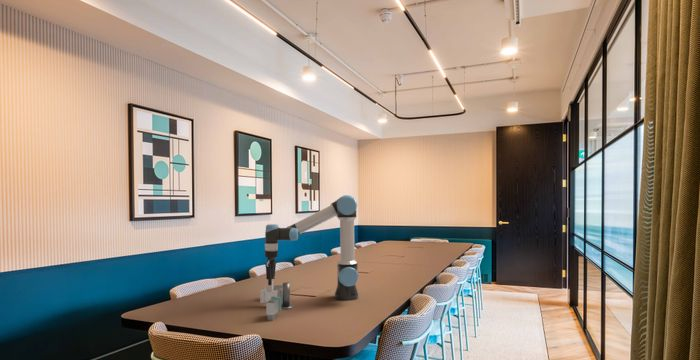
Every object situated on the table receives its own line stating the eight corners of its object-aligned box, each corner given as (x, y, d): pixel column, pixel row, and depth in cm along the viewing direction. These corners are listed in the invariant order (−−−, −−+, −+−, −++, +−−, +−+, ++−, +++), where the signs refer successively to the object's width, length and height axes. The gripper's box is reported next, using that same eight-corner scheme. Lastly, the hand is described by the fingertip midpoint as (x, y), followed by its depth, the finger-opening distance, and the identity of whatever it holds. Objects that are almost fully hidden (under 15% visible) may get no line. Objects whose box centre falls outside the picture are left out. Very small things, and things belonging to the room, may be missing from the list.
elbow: (283, 304, 236) (283, 288, 237) (280, 306, 231) (280, 290, 232) (263, 303, 238) (263, 288, 239) (260, 305, 233) (260, 289, 234)
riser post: (281, 305, 238) (281, 281, 238) (294, 306, 236) (295, 281, 237) (277, 309, 230) (277, 284, 231) (290, 309, 229) (290, 284, 229)
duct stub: (272, 315, 218) (272, 296, 219) (281, 315, 217) (281, 296, 218) (265, 320, 208) (265, 301, 208) (274, 321, 207) (274, 301, 208)
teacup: (286, 297, 258) (287, 284, 258) (282, 301, 247) (282, 288, 248) (265, 296, 259) (265, 284, 260) (260, 301, 249) (260, 287, 249)
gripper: (269, 248, 250) (268, 287, 248) (261, 251, 237) (260, 292, 236) (281, 249, 248) (280, 288, 247) (273, 251, 236) (272, 293, 234)
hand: (270, 290), depth 241 cm, fingers closed
